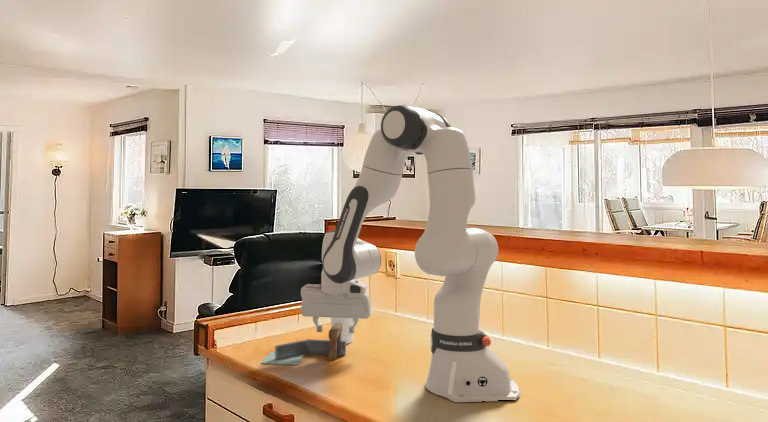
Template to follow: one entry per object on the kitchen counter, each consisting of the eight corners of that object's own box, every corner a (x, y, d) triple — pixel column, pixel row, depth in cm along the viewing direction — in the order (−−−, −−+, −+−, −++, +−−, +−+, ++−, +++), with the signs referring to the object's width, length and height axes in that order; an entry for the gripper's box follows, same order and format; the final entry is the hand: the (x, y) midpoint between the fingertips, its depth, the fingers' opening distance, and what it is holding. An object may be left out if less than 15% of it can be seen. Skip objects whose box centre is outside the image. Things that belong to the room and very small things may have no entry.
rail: (345, 354, 153) (346, 340, 153) (341, 363, 145) (341, 349, 145) (282, 351, 155) (282, 338, 154) (274, 360, 146) (274, 346, 146)
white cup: (356, 338, 170) (357, 307, 170) (352, 345, 162) (353, 313, 162) (332, 337, 171) (333, 306, 171) (327, 344, 163) (328, 312, 163)
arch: (341, 349, 158) (342, 323, 157) (336, 360, 148) (337, 331, 147) (333, 349, 158) (334, 323, 157) (328, 359, 148) (328, 331, 148)
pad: (305, 354, 153) (305, 353, 153) (297, 365, 143) (297, 364, 143) (271, 352, 153) (271, 351, 153) (260, 363, 143) (261, 362, 143)
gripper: (298, 285, 150) (297, 333, 150) (370, 288, 148) (368, 336, 149) (303, 281, 156) (302, 328, 156) (372, 284, 155) (371, 330, 155)
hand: (335, 332), depth 153 cm, fingers open, 8 cm apart
